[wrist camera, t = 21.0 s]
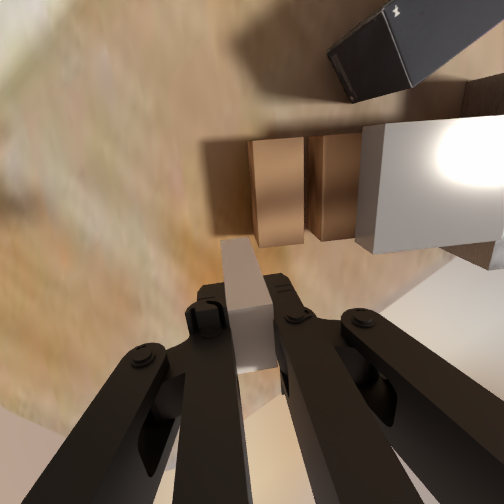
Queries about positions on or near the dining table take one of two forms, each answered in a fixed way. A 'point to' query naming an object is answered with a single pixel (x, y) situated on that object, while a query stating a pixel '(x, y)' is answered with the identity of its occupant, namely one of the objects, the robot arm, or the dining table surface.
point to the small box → (408, 43)
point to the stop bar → (479, 105)
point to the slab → (431, 184)
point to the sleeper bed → (292, 188)
